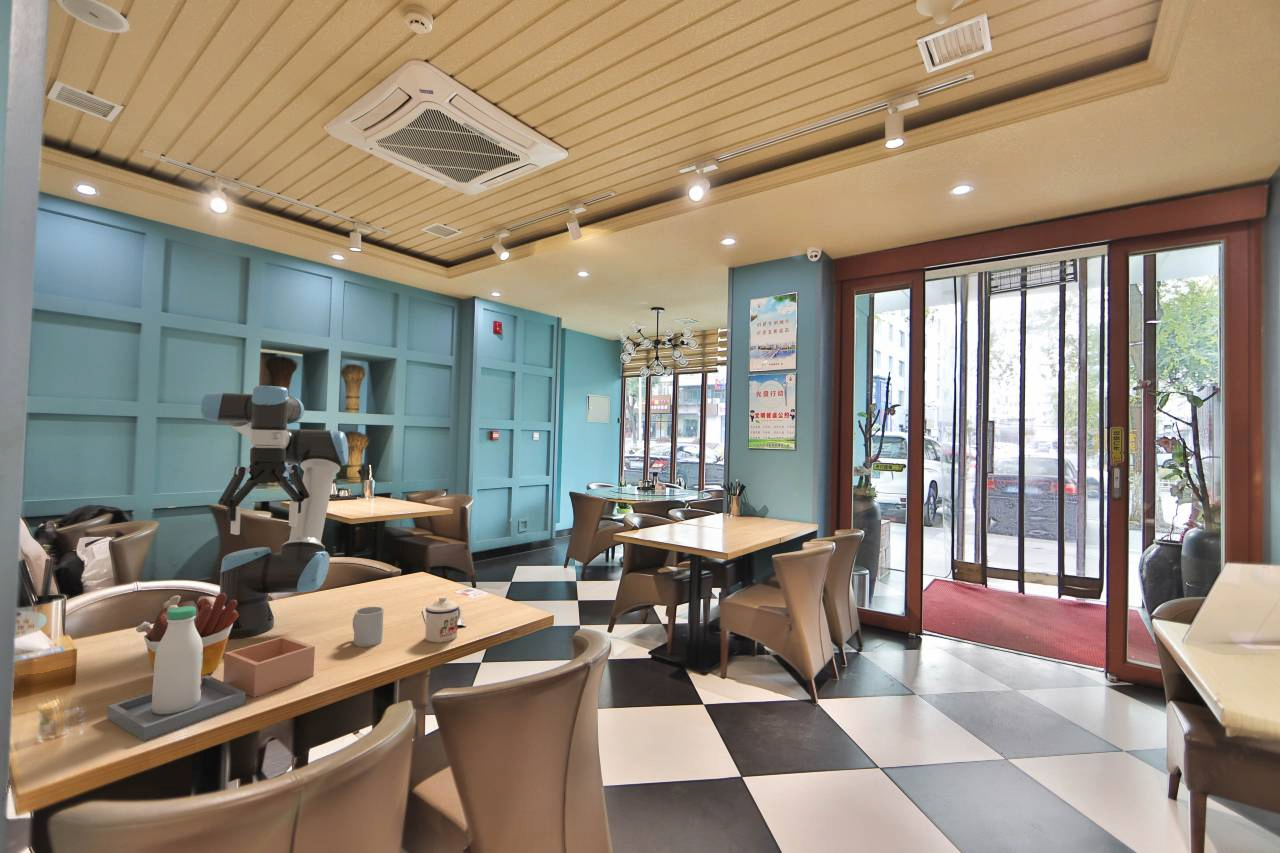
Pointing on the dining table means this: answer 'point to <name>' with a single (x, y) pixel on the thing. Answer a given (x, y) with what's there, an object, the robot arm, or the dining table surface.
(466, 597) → the dining table surface
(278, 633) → the dining table surface
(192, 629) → the milk bottle
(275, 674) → the deep holder
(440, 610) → the teacup with lid
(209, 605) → the bucket of meat
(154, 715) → the tray
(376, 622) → the cup
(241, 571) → the robot arm
